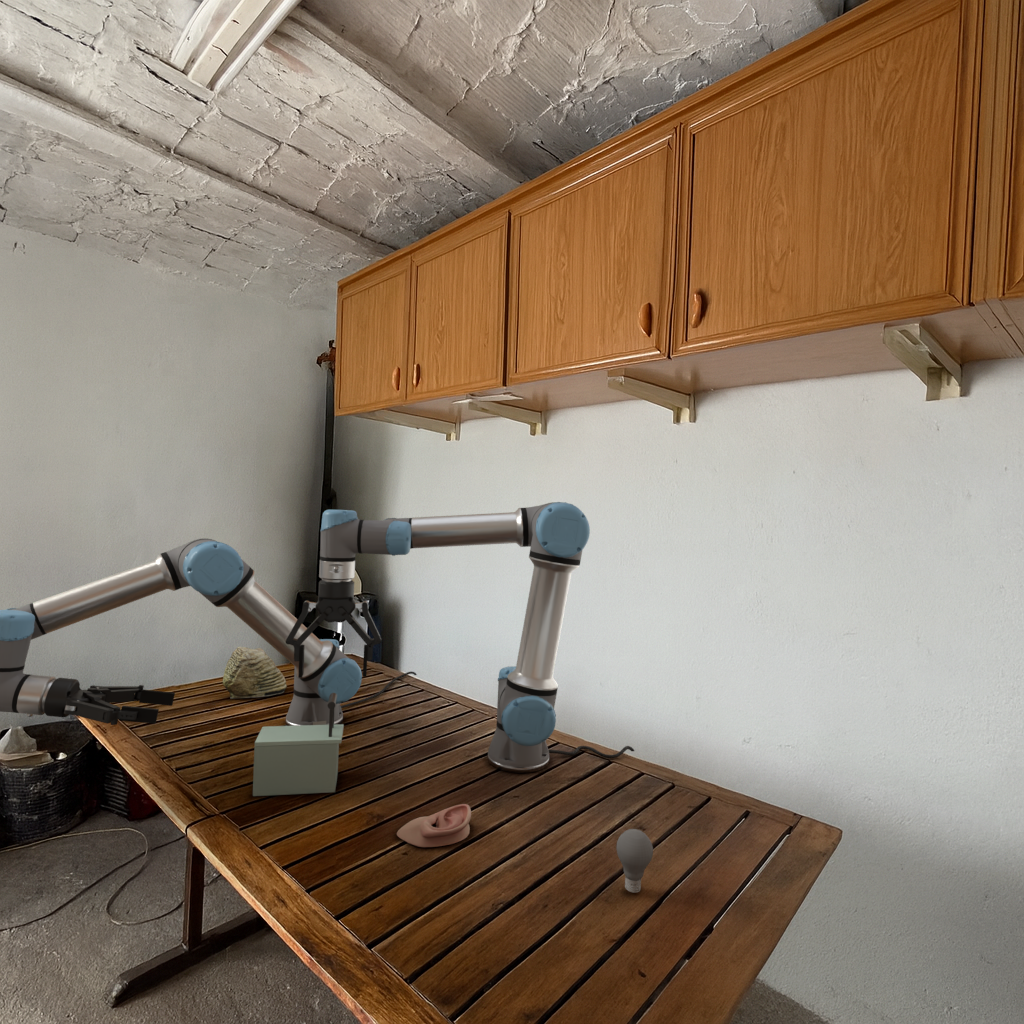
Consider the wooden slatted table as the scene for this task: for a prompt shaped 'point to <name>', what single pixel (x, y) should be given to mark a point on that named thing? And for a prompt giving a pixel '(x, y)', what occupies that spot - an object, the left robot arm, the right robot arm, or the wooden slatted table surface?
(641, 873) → the light bulb
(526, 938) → the wooden slatted table surface
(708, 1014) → the wooden slatted table surface
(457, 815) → the anatomical model
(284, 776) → the chest
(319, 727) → the lid
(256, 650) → the fossil
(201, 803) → the wooden slatted table surface
